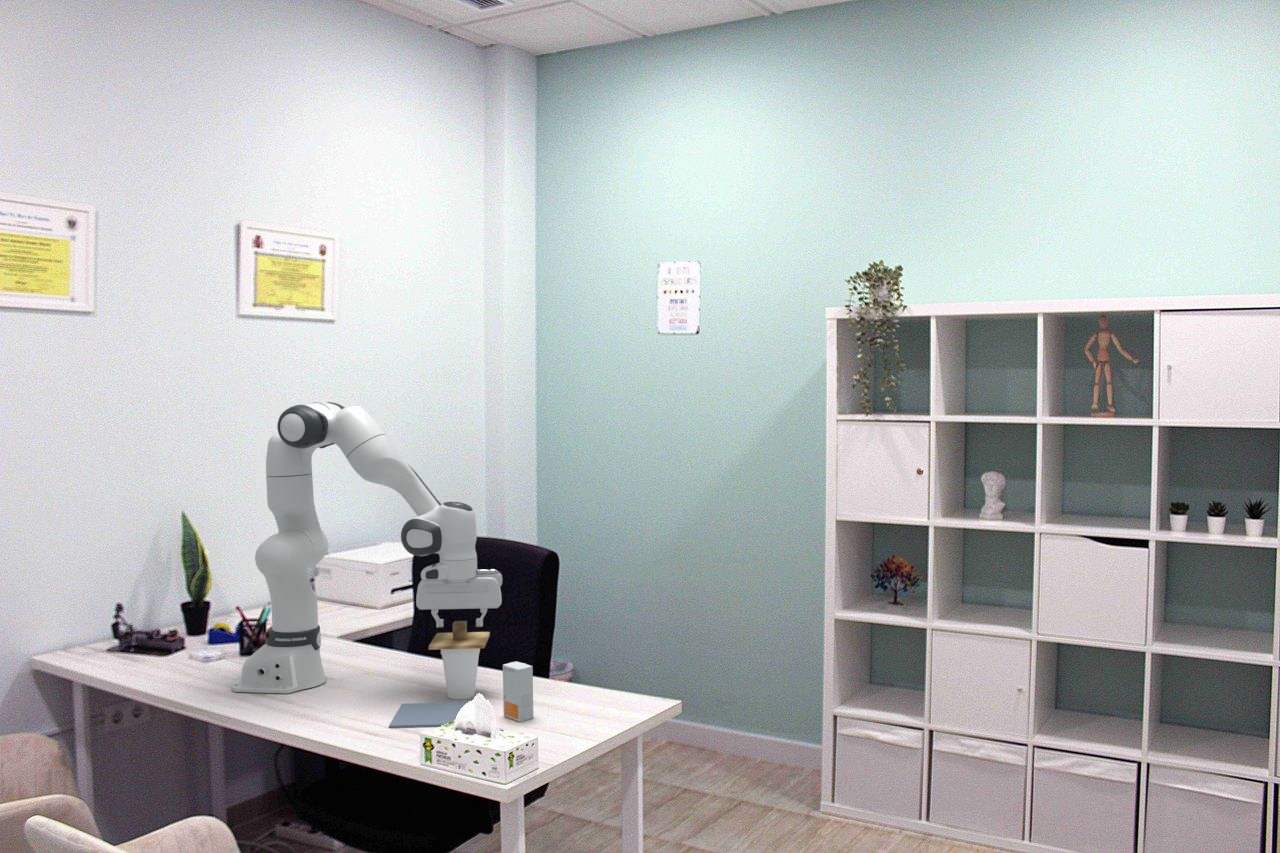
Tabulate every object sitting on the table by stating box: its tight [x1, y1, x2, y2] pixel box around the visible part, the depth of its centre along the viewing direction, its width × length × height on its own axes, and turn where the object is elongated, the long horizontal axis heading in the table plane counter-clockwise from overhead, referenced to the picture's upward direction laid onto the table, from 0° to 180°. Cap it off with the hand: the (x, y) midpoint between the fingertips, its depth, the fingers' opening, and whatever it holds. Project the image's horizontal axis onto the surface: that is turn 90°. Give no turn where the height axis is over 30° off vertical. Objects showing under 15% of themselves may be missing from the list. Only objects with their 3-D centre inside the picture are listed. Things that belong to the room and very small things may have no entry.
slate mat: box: [388, 701, 469, 729], centre depth 244 cm, size 18×16×1 cm
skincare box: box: [502, 661, 534, 723], centre depth 241 cm, size 6×4×12 cm
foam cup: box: [440, 648, 481, 700], centre depth 259 cm, size 10×9×13 cm
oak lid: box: [428, 620, 491, 651], centre depth 258 cm, size 13×13×5 cm
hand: (459, 626), depth 258 cm, fingers open, 8 cm apart
